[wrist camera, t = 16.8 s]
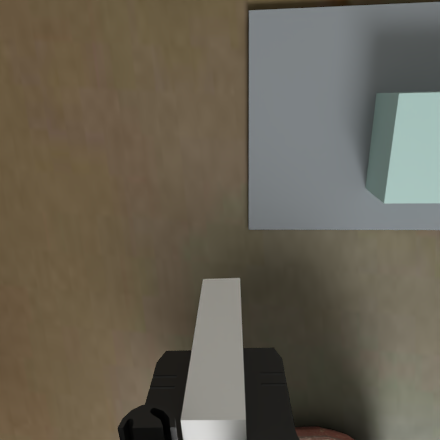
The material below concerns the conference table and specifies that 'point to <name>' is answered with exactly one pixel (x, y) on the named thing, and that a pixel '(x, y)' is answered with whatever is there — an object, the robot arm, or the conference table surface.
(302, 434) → the pottery
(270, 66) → the slate mat
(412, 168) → the painted block
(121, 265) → the conference table surface
